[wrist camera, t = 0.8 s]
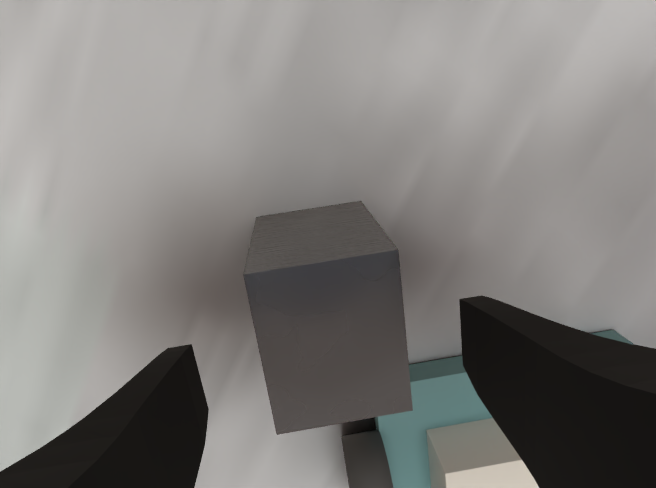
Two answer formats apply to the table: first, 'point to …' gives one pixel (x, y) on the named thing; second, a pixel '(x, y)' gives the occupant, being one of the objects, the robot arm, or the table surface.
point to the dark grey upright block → (328, 316)
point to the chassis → (438, 438)
